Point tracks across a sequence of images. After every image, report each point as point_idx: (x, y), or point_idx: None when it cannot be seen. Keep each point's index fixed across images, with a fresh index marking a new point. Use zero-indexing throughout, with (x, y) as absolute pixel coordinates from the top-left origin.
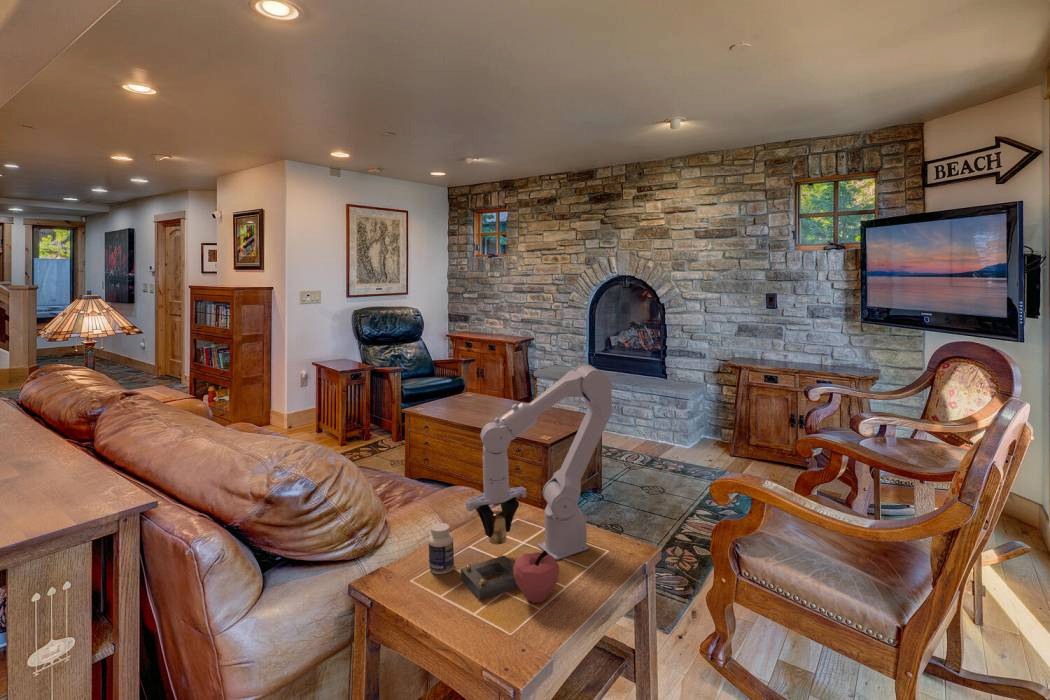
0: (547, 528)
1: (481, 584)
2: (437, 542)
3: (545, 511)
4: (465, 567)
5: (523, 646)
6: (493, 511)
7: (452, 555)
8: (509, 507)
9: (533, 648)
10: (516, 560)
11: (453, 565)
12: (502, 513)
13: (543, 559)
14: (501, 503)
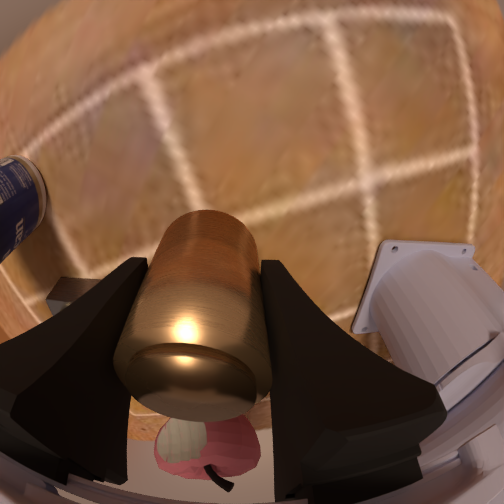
0: (404, 356)
1: None
2: None
3: (453, 381)
4: (57, 300)
5: (145, 427)
6: (175, 357)
7: (14, 246)
8: (276, 478)
9: (156, 432)
10: (163, 463)
11: (39, 220)
12: (236, 407)
13: (228, 469)
14: (301, 412)
